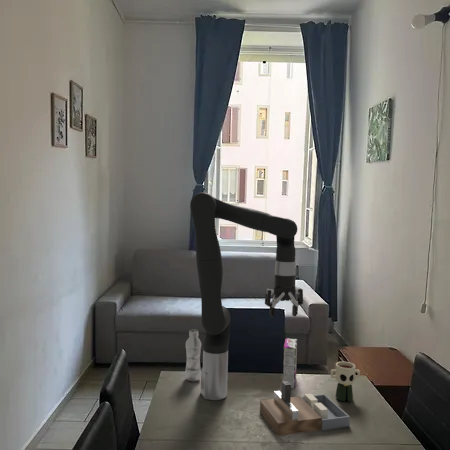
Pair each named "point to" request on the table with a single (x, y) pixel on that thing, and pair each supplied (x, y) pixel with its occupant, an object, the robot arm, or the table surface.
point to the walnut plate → (282, 421)
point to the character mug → (345, 379)
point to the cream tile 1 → (310, 399)
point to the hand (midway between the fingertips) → (283, 316)
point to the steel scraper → (286, 400)
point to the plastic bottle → (193, 356)
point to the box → (332, 414)
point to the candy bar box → (290, 361)
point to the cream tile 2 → (321, 410)
